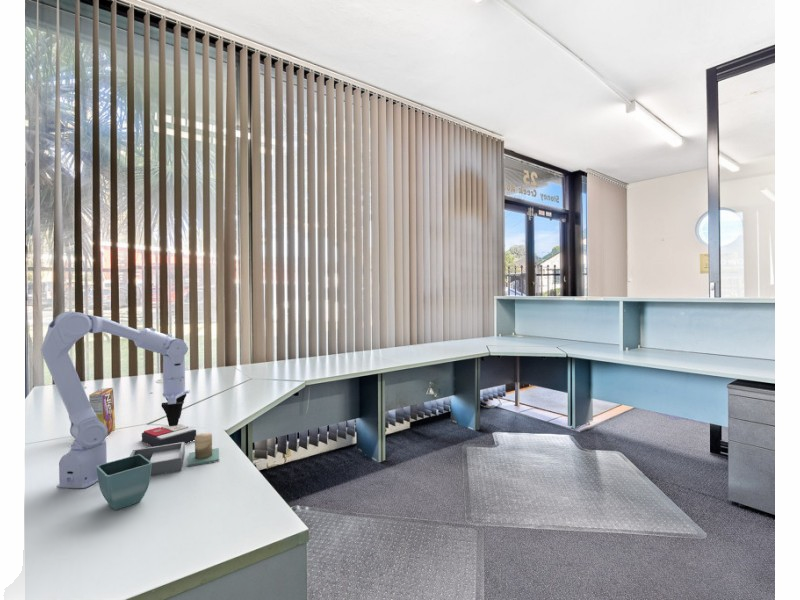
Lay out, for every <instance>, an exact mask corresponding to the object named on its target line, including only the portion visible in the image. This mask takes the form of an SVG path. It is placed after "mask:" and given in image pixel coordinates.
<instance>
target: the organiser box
mask: <svg viewBox="0 0 800 600" xmlns="http://www.w3.org/2000/svg"><path fill="white" fill-rule="evenodd" d="M185 445H186V444H185V442H181V443H174V444H168V445H162V446H155V447H153V446H149V447H144V448H136V449H132V451H131V453H130V455H129V457H130V456H134V455H138V454H140V455H142V456H143V457H144V458H146V459H147V460H149V461H150V462H152V467H151V475H150V478H151V477H155V476H160V475H166V474H172V473H177V472H182V470H183V464H184V459H185V453H186V449H185V448H186V447H185Z"/></svg>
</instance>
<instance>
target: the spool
mask: <svg viewBox="0 0 800 600" xmlns="http://www.w3.org/2000/svg"><path fill="white" fill-rule="evenodd" d="M212 449H213V434H212V433H210V432H203V433H199V434H196V436H195V441H194V452H195V458H196V459H205V458H209V457H211V456H212Z"/></svg>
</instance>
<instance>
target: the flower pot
mask: <svg viewBox="0 0 800 600" xmlns="http://www.w3.org/2000/svg"><path fill="white" fill-rule="evenodd" d="M151 467H152V462H150V461H149V460H147V459H146V458H144V457H143V456H142V455H140V454H138V455H134V456H130V455H129V456H127V457H124V458H120V459H116V460H112V461H109V462H107V463H105V464H101V465H98V466H96V468H97V475H98V481H97V482H98V486H99V490H100V492H101V495H102V496H103V498H104V499H105V501H106V502H107V503H108V505H109V506H110V507H111V508H112V509H113V510H114V511H117V510H120V509H122V508H125V507H128V506H131V505H134V504H137V503H140V502H141V501H142V500H143V498H144V496H145V494H146V493H147V491H148V488H149V485H150V481H151V477H150V475H151Z"/></svg>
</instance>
